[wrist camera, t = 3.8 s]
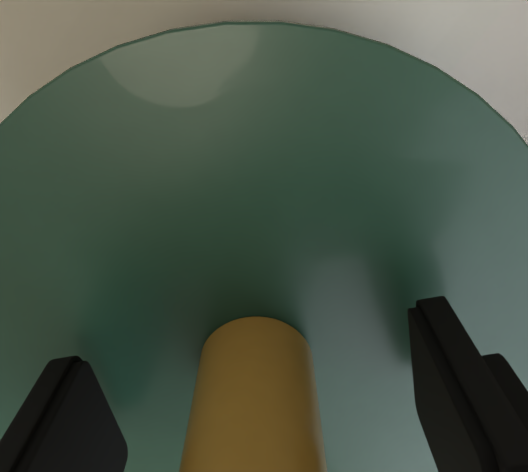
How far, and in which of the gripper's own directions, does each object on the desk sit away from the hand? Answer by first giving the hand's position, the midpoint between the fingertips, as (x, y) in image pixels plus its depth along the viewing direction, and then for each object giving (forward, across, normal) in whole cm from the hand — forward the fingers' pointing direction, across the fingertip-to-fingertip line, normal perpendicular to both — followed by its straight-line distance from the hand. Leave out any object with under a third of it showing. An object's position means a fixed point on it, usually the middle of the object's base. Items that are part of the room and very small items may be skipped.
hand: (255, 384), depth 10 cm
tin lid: (+1, 0, 0) cm, 1 cm away
